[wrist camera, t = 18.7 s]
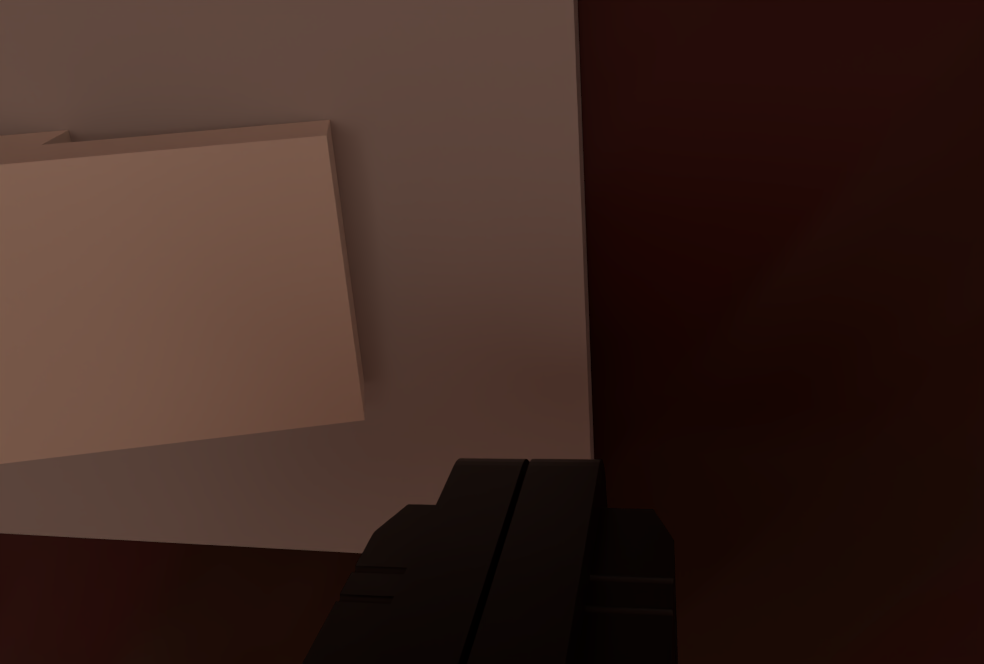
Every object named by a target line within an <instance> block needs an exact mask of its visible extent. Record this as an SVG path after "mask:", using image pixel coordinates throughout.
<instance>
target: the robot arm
mask: <svg viewBox="0 0 984 664" xmlns="http://www.w3.org/2000/svg"><path fill="white" fill-rule="evenodd" d="M302 664H678V652H677V620H676V588H675V555H674V540H673V538H672V537H671V535H670V534H669V532H668V531H667V529H666V528H665V526H664V525H663V523H662V522H661V520H660V519H659V517H658V516H657V514H656V513H655V511H654V510H653V509H619V508H607V497H606V481H605V470H604V464H603V461H602V459H531V461H530V462H529V460H528V459H497V458H459V459H458V460H457V461H456V462H455V464H454V466H453V468H452V470H451V473H450V475H449V477H448V479H447V481H446V484H445V486H444V488H443V490H442V492H441V494H440V497H439V499H438V501H437V503H436V505H424V504H408V505H406V506H405V507H404V508H403V509H401V510H400V511H399V512H398V513H397V514H395V515H394V516H393V517H392V518H390V519H389V520H388V521H387V522H385V523H384V524H383V525H382V526H381V527H379V528H378V529H377V530H376V531H374V532H373V534H372V536H371V538H370V540H369V542H368V543H367V545H366V547H365V549H364V551H363V553H362V554H361V556H360V558H359V560H358V562H357V564H356V570H355V573H354V572H352V573H351V575H350V577H349V578H348V580H347V582H346V584H345V586H344V588H343V589H342V591H341V593H340V601H339V602H337V601H336V602H335V604H334V606H333V608H332V610H331V612H330V613H329V615H328V617H327V619H326V621H325V623H324V625H323V626H322V628H321V630H320V632H319V634H318V636H317V637H316V639H315V641H314V643H313V645H312V647H311V648H310V650H309V652H308V654H307V656H306V658H305V660H304V661H303V663H302Z"/></svg>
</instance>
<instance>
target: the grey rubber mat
mask: <svg viewBox="0 0 984 664" xmlns="http://www.w3.org/2000/svg"><path fill="white" fill-rule="evenodd" d="M320 120H330V126H331V134H332V142H333V149H334V157H335V164H336V172H337V180H338V187H339V195H340V202H341V210H342V218H343V225H344V233H345V240H346V248H347V255H348V263H349V271H350V278H351V286H352V293H353V301H354V309H355V316H356V324H357V331H358V339H359V347H360V354H361V362H362V369H363V377H364V411H365V420H362V421H354V422H345V423H337V424H329V425H320V426H312V427H304V428H295V429H287V430H279V431H270V432H262V433H254V434H246V435H237V436H229V437H221V438H212V439H204V440H196V441H187V442H179V443H171V444H162V445H154V446H146V447H137V448H129V449H121V450H112V451H104V452H96V453H88V454H79V455H71V456H63V457H54V458H46V459H38V460H29V461H21V462H13V463H4V464H0V533H7V534H25V535H43V536H61V537H79V538H97V539H115V540H133V541H151V542H169V543H187V544H205V545H223V546H242V547H260V548H278V549H296V550H314V551H332V552H350V553H363V551H364V549H365V547H366V545H367V543H368V542H369V540H370V538H371V536H372V534H373V532H374V531H376V530H377V529H378V528H379V527H381V526H382V525H383V524H384V523H385V522H387V521H388V520H389V519H390V518H392V517H393V516H394V515H395V514H397V513H398V512H399V511H400V510H401V509H403V508H404V507H405V506H406V505H408V504H424V505H436V503H437V501H438V499H439V497H440V494H441V492H442V490H443V488H444V486H445V484H446V481H447V479H448V477H449V475H450V473H451V470H452V468H453V466H454V464H455V462H456V461H457V460H458V459H459V458H497V459H528V460H529V462H530V461H531V459H594V441H593V413H592V386H591V358H590V331H589V303H588V276H587V248H586V221H585V193H584V166H583V138H582V111H581V83H580V56H579V28H578V1H577V0H0V136H3V135H15V134H26V133H38V132H50V131H61V130H68V131H69V135H70V139H71V142H80V141H92V140H103V139H115V138H126V137H137V136H149V135H160V134H172V133H183V132H194V131H206V130H217V129H228V128H240V127H251V126H263V125H274V124H285V123H297V122H308V121H320Z"/></svg>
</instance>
